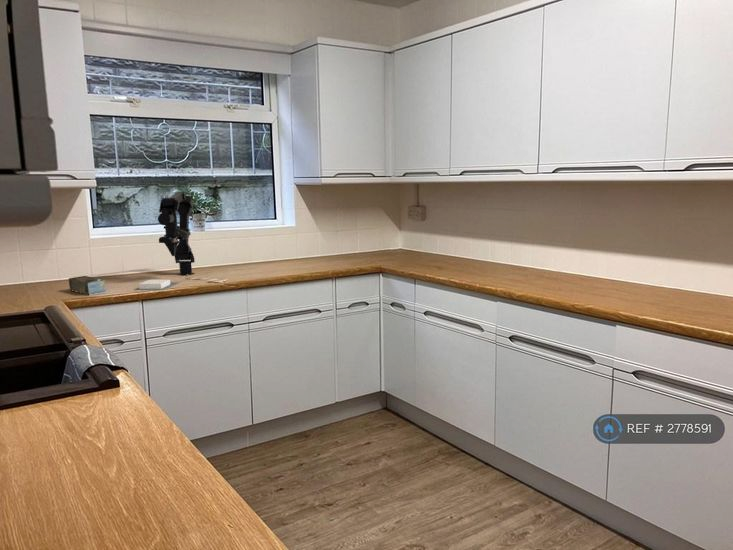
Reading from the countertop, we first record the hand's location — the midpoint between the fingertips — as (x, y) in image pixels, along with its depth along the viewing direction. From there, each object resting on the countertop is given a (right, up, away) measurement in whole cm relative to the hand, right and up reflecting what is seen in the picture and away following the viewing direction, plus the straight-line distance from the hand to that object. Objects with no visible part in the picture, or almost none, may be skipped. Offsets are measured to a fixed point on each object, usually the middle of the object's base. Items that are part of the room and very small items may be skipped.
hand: (173, 256), depth 286 cm
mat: (-2, -15, -16) cm, 22 cm away
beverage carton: (-30, -17, -25) cm, 43 cm away
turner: (+16, -12, -1) cm, 20 cm away
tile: (-2, -13, -14) cm, 19 cm away
